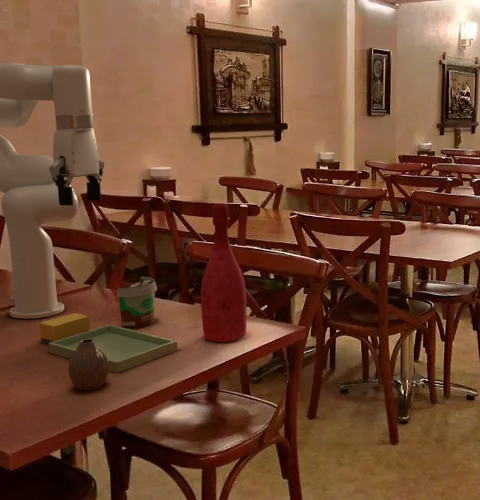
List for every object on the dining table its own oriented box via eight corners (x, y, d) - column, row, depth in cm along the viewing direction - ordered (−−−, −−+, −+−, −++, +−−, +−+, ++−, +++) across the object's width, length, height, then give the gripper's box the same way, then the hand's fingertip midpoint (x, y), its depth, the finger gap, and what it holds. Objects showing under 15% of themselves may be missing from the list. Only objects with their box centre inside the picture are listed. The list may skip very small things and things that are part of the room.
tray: (49, 352, 147) (48, 343, 147) (110, 333, 160) (109, 324, 160) (117, 373, 136) (117, 362, 135) (177, 350, 149) (177, 340, 148)
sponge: (41, 341, 154) (39, 322, 153) (76, 331, 162) (74, 312, 161) (55, 345, 152) (53, 326, 151) (90, 334, 159) (89, 316, 158)
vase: (76, 379, 132) (72, 335, 131) (114, 378, 133) (111, 334, 131) (65, 394, 126) (61, 347, 124) (104, 393, 126) (101, 346, 125)
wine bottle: (193, 337, 157) (187, 203, 152) (229, 327, 164) (224, 199, 159) (220, 346, 151) (215, 208, 145) (256, 336, 158) (252, 203, 152)
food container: (143, 332, 161) (141, 289, 159) (119, 330, 162) (116, 288, 160) (167, 316, 173) (165, 277, 171) (144, 315, 174) (142, 276, 172)
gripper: (85, 123, 162) (90, 197, 165) (32, 124, 145) (39, 207, 149) (113, 123, 160) (118, 198, 163) (62, 124, 143) (69, 208, 147)
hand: (80, 202), depth 156 cm, fingers open, 9 cm apart
